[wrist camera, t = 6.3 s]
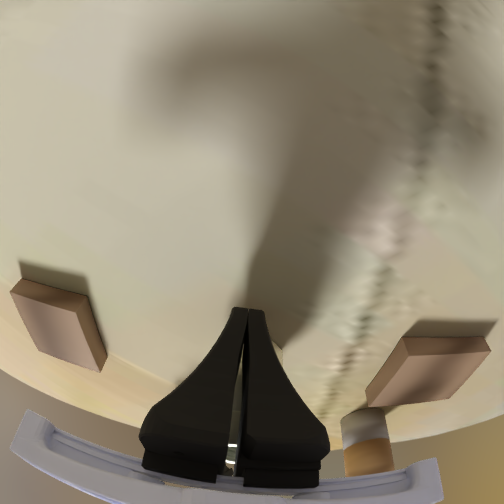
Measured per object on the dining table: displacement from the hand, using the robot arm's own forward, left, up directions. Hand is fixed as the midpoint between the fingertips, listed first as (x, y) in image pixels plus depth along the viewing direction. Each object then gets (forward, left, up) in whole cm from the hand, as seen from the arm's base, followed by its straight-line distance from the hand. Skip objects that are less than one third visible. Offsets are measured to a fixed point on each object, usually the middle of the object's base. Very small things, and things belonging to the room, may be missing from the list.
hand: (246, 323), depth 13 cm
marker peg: (-11, +13, -1) cm, 17 cm away
